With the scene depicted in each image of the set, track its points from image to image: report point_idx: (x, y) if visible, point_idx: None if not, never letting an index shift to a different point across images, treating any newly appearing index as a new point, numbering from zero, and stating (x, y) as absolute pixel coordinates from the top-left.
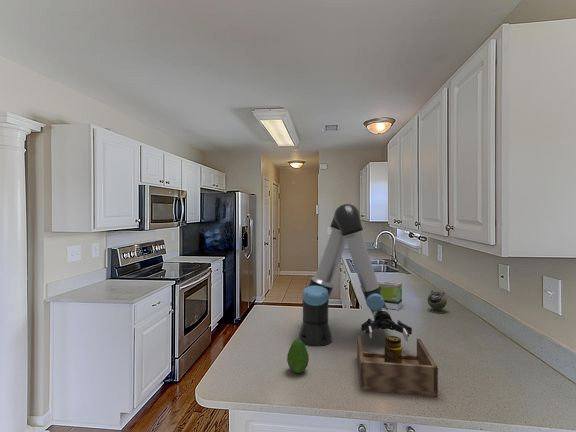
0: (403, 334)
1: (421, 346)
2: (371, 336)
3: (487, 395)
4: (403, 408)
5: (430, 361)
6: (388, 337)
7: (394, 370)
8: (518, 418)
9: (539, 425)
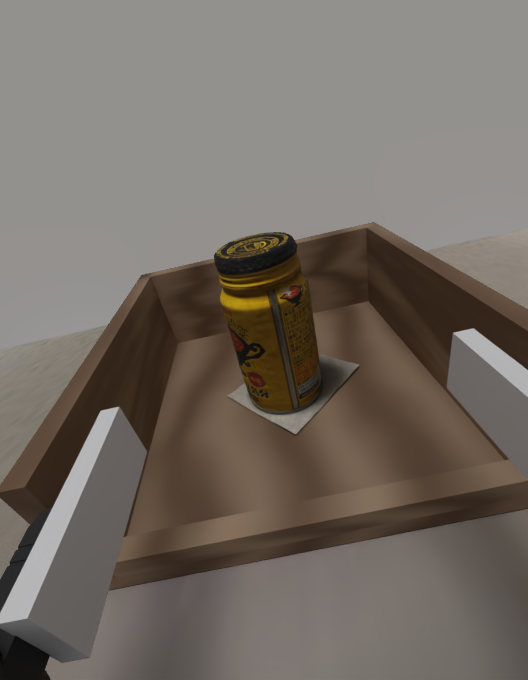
0: (95, 591)
1: (95, 368)
2: (453, 369)
3: (29, 394)
4: None
5: (142, 288)
6: (279, 242)
7: None
8: (47, 346)
9: (28, 343)
